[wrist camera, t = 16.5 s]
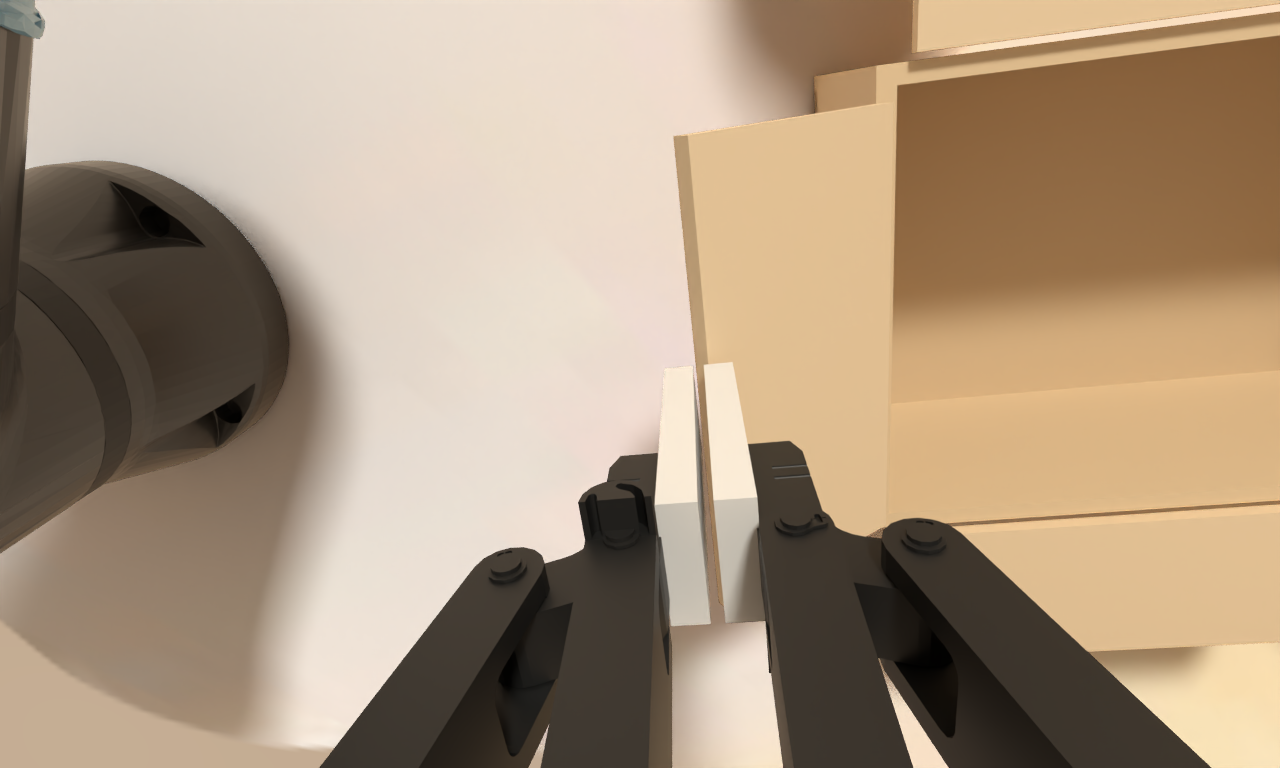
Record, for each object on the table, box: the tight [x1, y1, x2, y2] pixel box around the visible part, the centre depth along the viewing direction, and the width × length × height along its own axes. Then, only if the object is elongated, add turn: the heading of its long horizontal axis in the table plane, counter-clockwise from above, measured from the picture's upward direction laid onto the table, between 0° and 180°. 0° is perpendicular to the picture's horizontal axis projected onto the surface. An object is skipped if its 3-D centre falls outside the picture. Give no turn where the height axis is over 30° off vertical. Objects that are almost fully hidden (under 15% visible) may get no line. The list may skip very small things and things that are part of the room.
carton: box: [814, 0, 1280, 652], centre depth 26 cm, size 24×28×10 cm
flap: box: [673, 102, 893, 606], centre depth 20 cm, size 1×14×7 cm
